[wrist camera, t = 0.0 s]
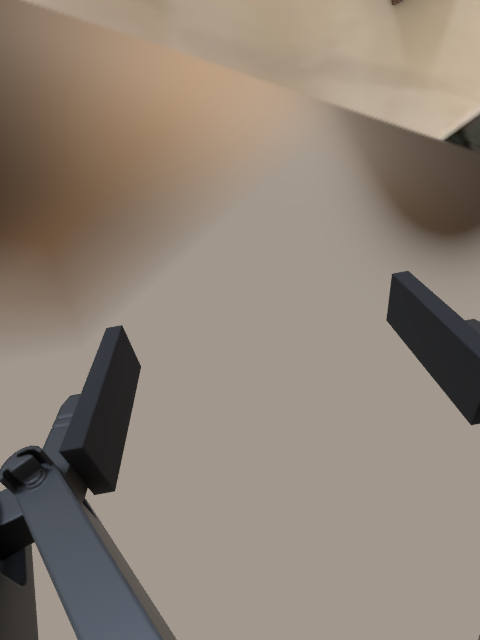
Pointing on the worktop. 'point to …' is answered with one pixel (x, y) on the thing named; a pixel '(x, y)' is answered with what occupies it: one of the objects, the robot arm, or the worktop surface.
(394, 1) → the clothes rail
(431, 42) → the worktop surface
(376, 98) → the worktop surface
